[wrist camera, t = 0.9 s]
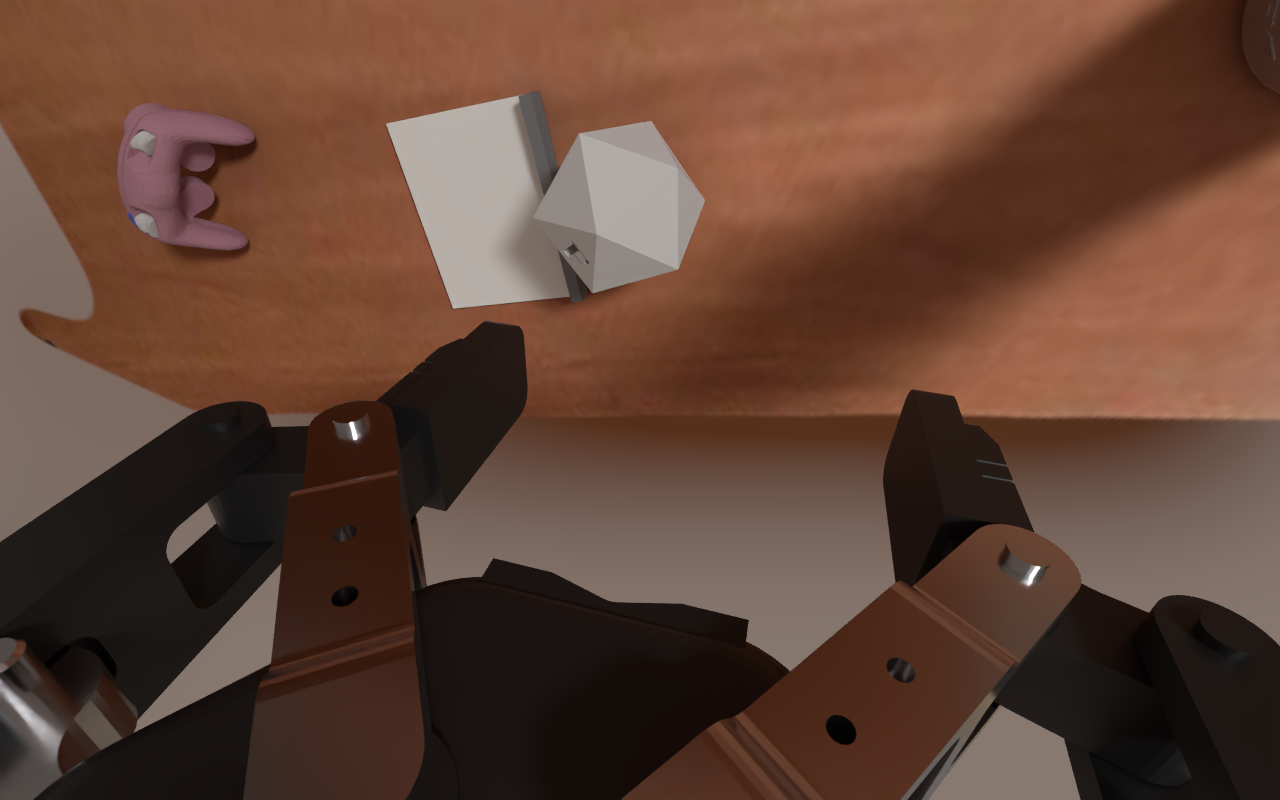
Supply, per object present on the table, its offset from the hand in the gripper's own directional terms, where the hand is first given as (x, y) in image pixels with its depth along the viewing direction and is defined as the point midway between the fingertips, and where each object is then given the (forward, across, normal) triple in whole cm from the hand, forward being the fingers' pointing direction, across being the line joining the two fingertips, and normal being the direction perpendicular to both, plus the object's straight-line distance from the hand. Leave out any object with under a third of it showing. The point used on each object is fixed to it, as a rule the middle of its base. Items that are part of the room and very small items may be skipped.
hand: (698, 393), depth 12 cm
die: (+28, +8, +3) cm, 29 cm away
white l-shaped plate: (+27, +19, +5) cm, 33 cm away
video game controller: (+26, +39, +5) cm, 47 cm away
